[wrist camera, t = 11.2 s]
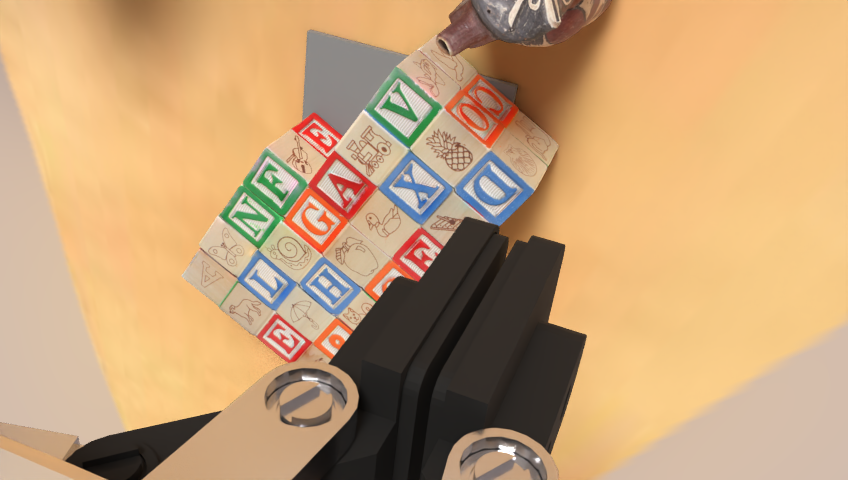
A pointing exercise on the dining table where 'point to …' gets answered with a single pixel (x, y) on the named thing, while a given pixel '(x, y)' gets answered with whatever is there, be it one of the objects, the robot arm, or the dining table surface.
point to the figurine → (517, 22)
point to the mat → (352, 78)
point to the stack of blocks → (366, 203)
